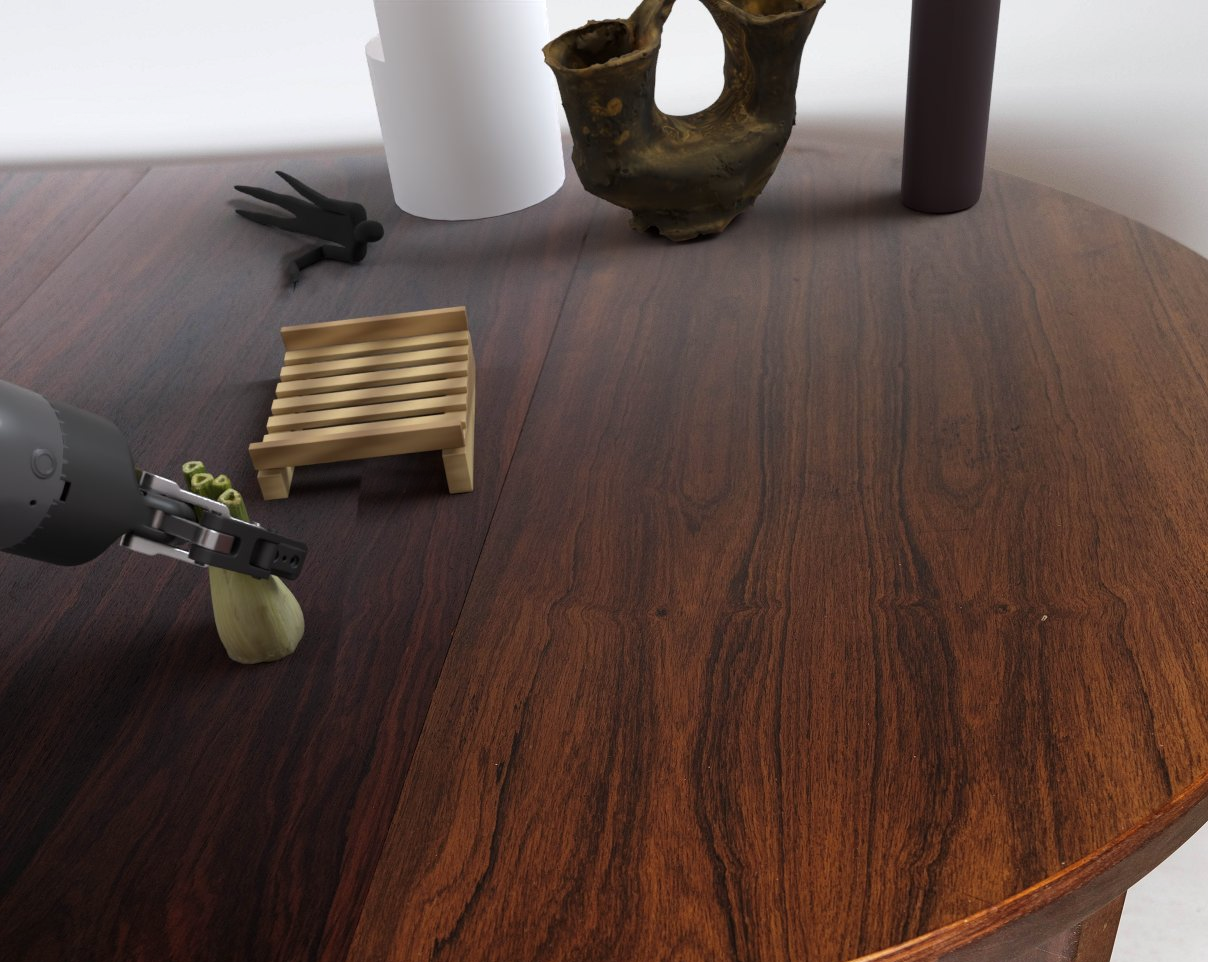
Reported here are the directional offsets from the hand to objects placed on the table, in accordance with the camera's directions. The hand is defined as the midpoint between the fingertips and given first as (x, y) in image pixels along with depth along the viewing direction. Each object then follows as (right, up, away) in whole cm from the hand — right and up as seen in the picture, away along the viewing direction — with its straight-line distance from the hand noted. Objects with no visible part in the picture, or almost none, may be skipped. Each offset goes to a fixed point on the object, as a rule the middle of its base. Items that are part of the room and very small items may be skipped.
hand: (260, 546), depth 74 cm
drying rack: (+3, +11, +21) cm, 24 cm away
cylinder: (+7, +44, +56) cm, 72 cm away
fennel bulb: (0, -6, +3) cm, 7 cm away
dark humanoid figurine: (-11, +34, +49) cm, 60 cm away
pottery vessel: (+28, +36, +45) cm, 64 cm away
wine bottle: (+50, +37, +43) cm, 76 cm away
